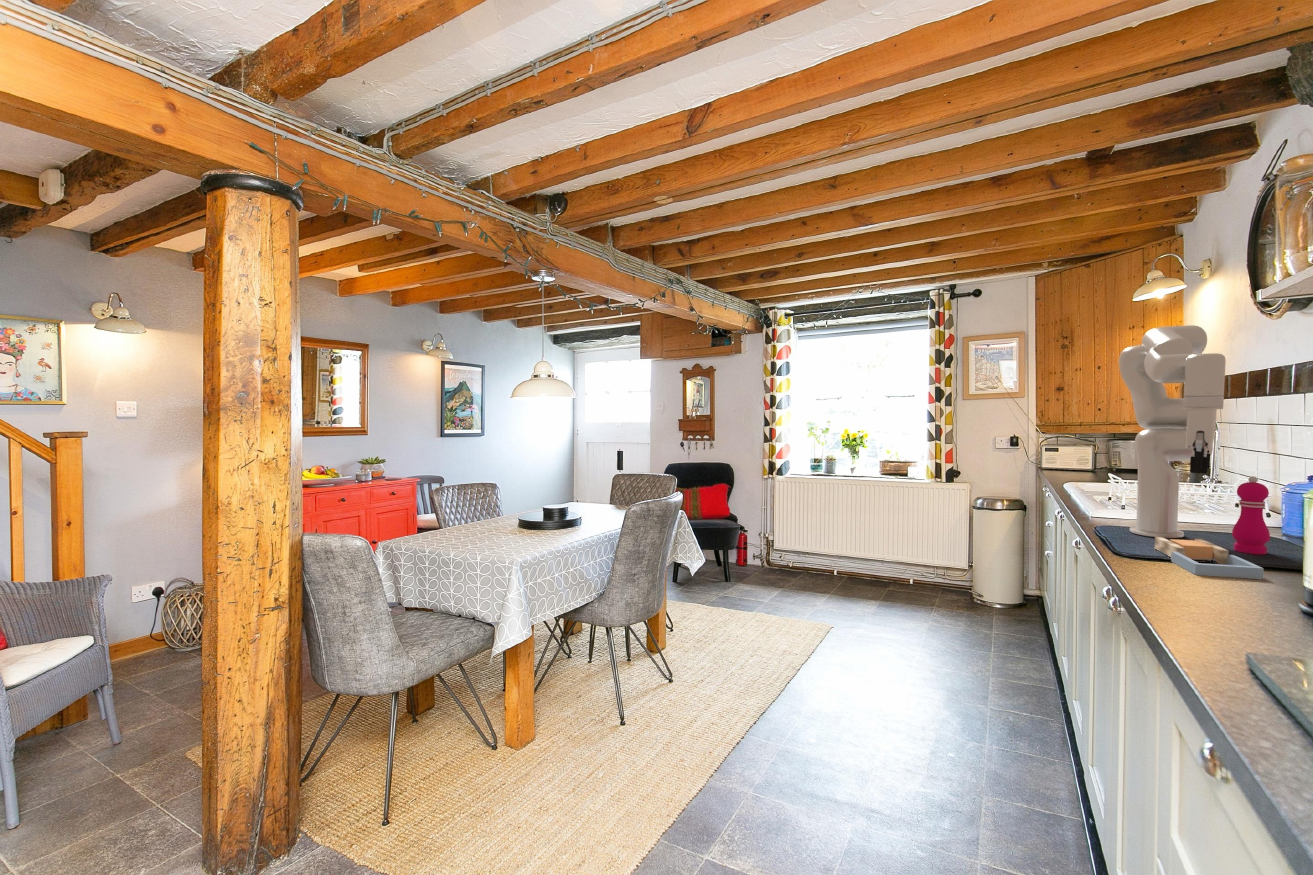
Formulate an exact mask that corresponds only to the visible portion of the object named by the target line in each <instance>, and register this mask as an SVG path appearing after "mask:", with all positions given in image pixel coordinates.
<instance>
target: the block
mask: <svg viewBox="0 0 1313 875" xmlns="http://www.w3.org/2000/svg"><path fill="white" fill-rule="evenodd" d="M1169 541H1171V542H1173V543H1175V544H1177V545H1179V546H1181V547H1183V548H1185V556H1186V557H1188V558H1190V559H1212V557H1213V547H1212V546H1210V545H1207V544H1205V543H1203V542H1200V541H1196V540H1193V539H1176V538H1169Z"/></svg>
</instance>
